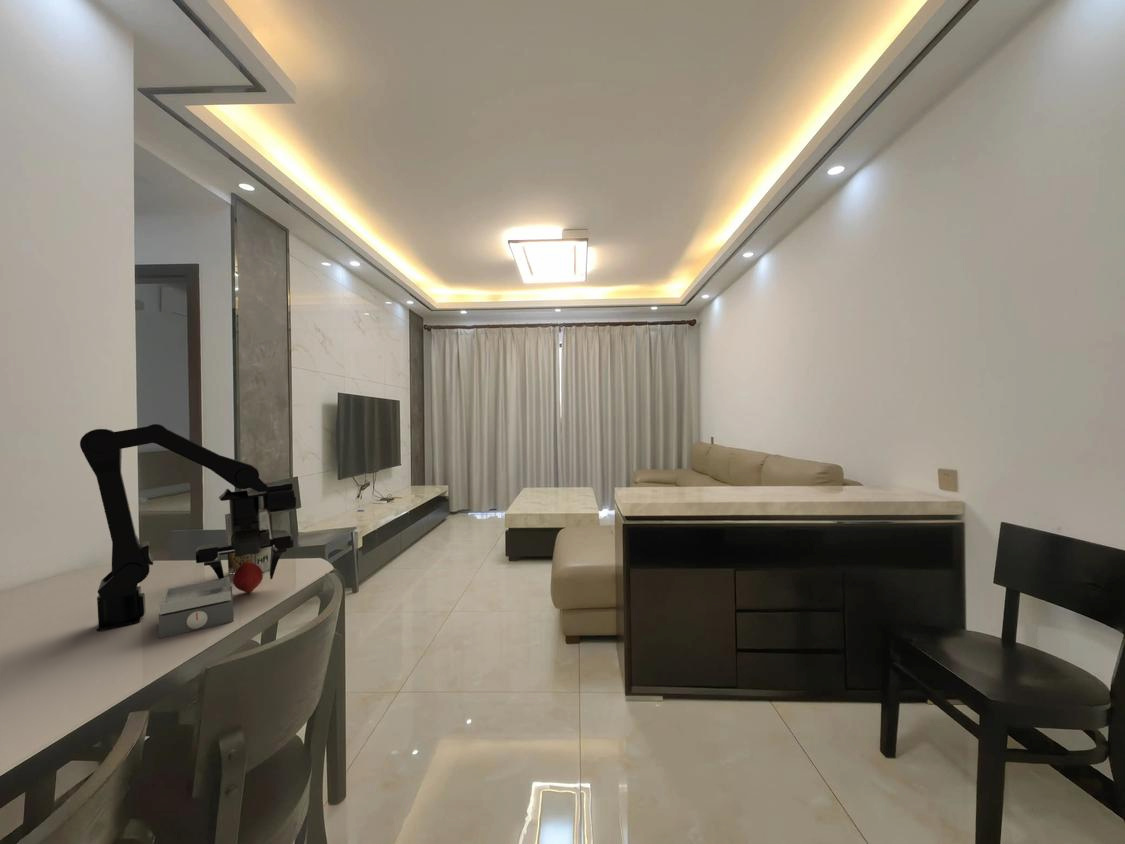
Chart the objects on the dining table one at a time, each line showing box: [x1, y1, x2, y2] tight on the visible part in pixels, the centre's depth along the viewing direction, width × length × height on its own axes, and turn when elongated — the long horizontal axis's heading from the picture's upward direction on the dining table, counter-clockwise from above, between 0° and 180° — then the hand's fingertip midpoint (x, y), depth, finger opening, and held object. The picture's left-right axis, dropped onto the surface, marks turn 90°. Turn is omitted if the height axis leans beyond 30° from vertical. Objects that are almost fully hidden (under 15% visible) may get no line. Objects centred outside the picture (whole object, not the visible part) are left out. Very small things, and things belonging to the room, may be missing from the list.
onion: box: [232, 559, 264, 594], centre depth 113 cm, size 6×6×8 cm
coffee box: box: [224, 508, 274, 574], centre depth 129 cm, size 9×6×16 cm
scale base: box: [157, 585, 235, 639], centre depth 98 cm, size 12×12×4 cm
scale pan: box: [159, 576, 231, 615], centre depth 98 cm, size 11×11×2 cm
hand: (248, 583), depth 113 cm, fingers open, 9 cm apart
